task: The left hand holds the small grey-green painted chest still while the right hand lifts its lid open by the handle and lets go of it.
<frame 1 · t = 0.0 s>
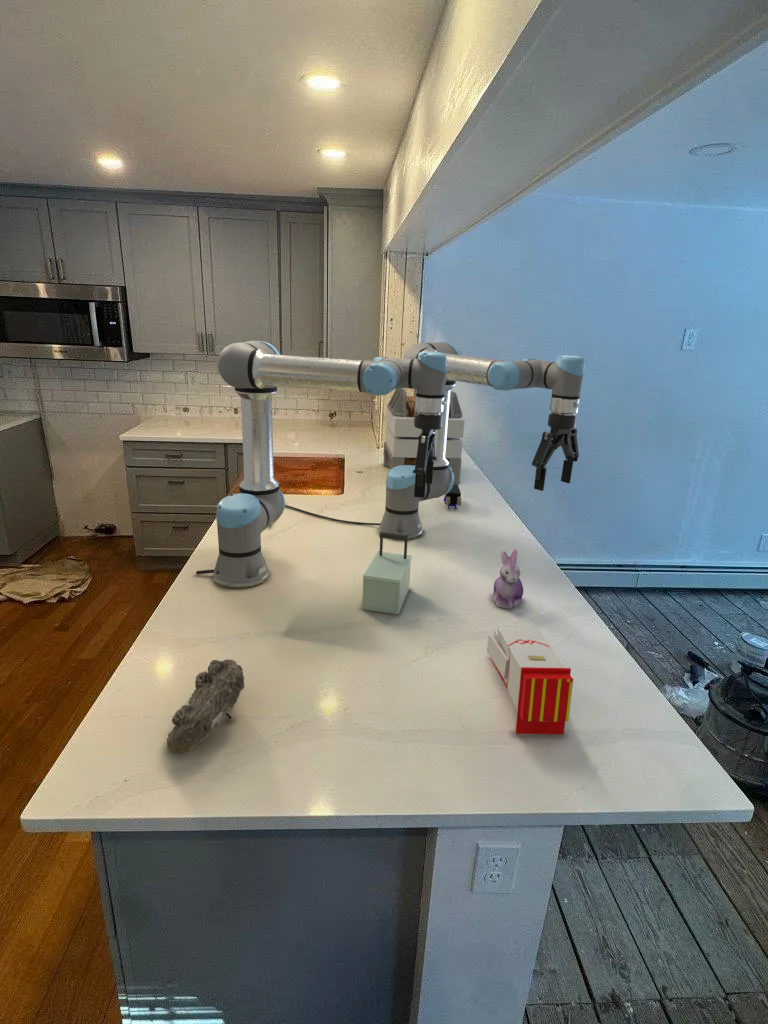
left hand: (423, 489, 157), 28 cm above the counter, tool pointing down, fingers open, 13 cm apart
right hand: (552, 485, 166), 28 cm above the counter, tool pointing down, fingers open, 13 cm apart
lid: (389, 554, 151), point 13 cm above the counter, hinge at 0.0°
fossil: (212, 717, 108), on the counter
feather: (277, 515, 212), on the counter
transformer: (419, 473, 275), on the counter
figurine character: (451, 505, 231), on the counter
chest: (386, 598, 155), on the counter
figurine: (507, 601, 156), on the counter
toy: (520, 689, 120), on the counter
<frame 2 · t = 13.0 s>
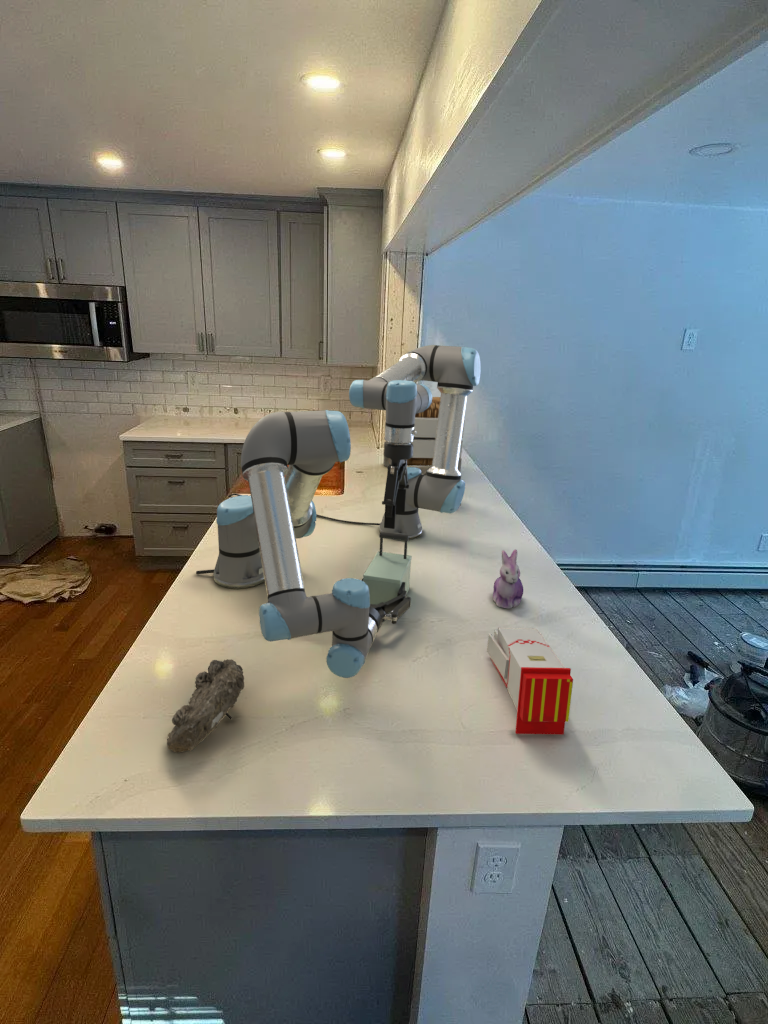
left hand: (384, 583, 149), 6 cm above the counter, tool horizontal, fingers closed on chest, 10 cm apart
right hand: (394, 519, 153), 21 cm above the counter, tool pointing down, fingers open, 13 cm apart
chest: (386, 598, 155), on the counter, touching left hand
everything else where it was.
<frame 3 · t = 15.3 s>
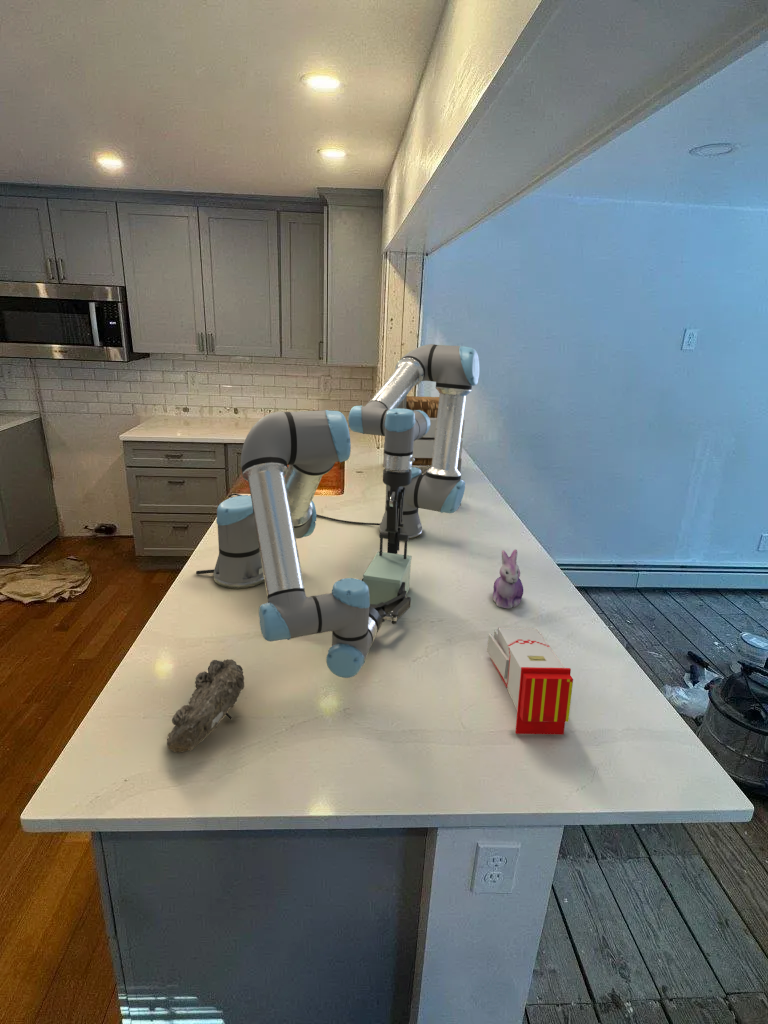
left hand: (384, 584, 149), 6 cm above the counter, tool horizontal, fingers closed on chest, 10 cm apart
right hand: (393, 551, 157), 12 cm above the counter, tool pointing down, fingers closed on lid, 2 cm apart
lid: (389, 554, 151), point 13 cm above the counter, hinge at -0.1°, touching right hand
chest: (386, 598, 155), on the counter, touching left hand
everything else where it was.
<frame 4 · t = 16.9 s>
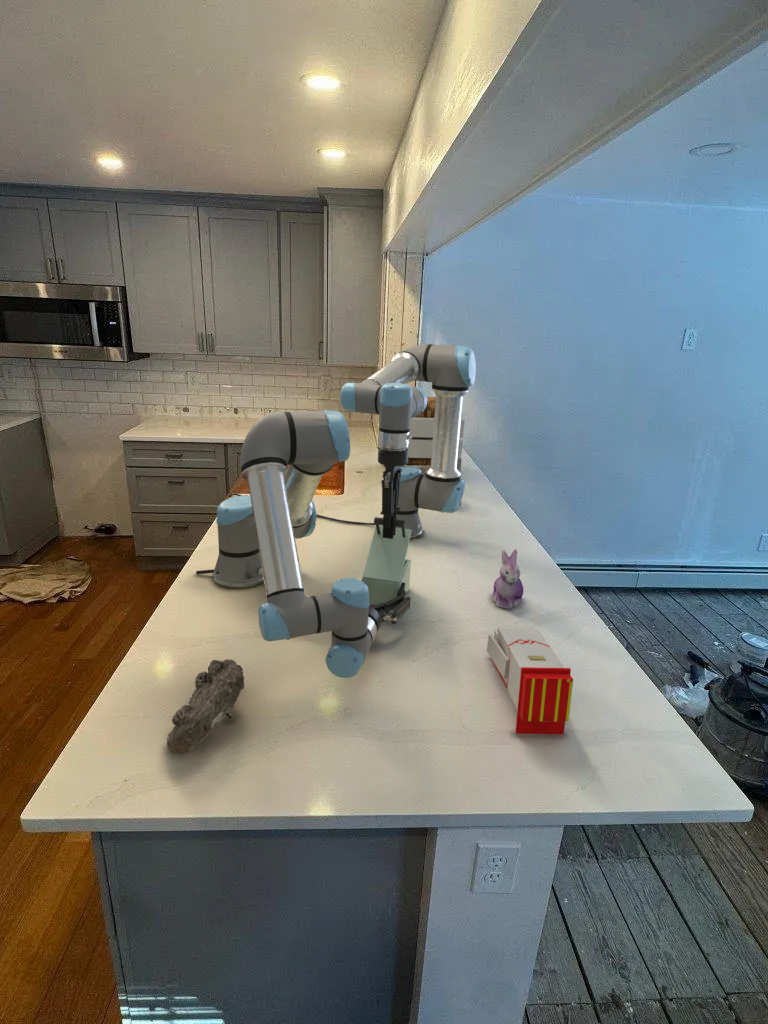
left hand: (383, 584, 149), 6 cm above the counter, tool horizontal, fingers closed on chest, 10 cm apart
right hand: (389, 535, 148), 19 cm above the counter, tool pointing down, fingers closed on lid, 2 cm apart
lid: (386, 546, 146), point 17 cm above the counter, hinge at 34.3°, touching right hand
chest: (386, 598, 155), on the counter, touching left hand
everything else where it was.
when the left hand's fingers open (6 cm above the counter, at t = 22.8 s): chest stays where it is, on the counter.
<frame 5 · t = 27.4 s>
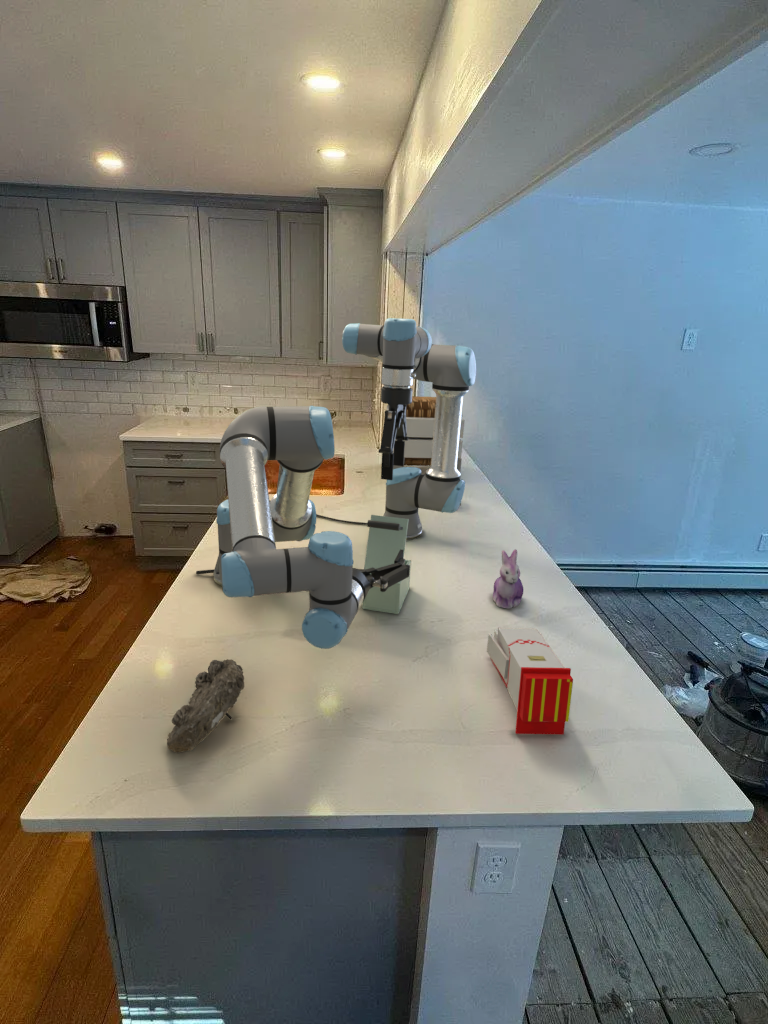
left hand: (372, 551, 130), 22 cm above the counter, tool horizontal, fingers open, 13 cm apart
right hand: (392, 472, 143), 36 cm above the counter, tool pointing down, fingers open, 13 cm apart
lid: (383, 547, 142), point 18 cm above the counter, hinge at 66.7°
chest: (386, 598, 155), on the counter
everything else where it was.
at the end: lid at +67° (first picture: +0°); the left hand is holding nothing; the right hand is holding nothing; chest tilted 0°; chest never tilted more than 2° during the clip; chest moved 0.2 cm from its start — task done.
